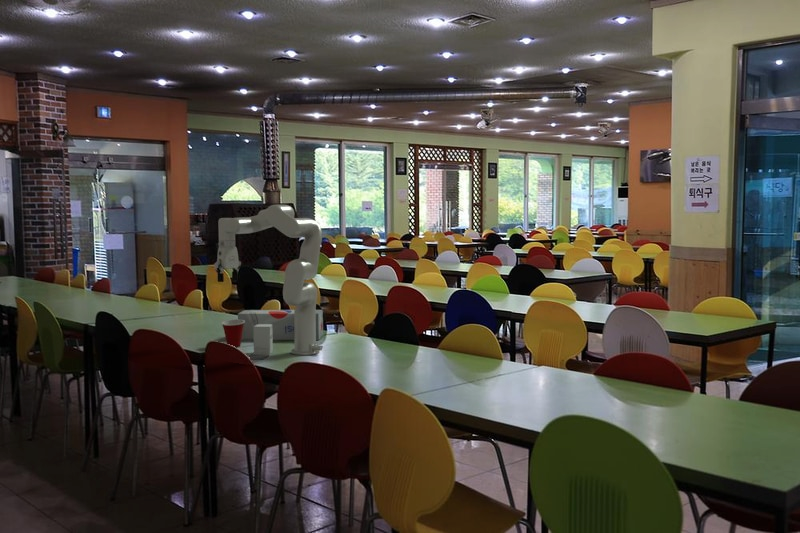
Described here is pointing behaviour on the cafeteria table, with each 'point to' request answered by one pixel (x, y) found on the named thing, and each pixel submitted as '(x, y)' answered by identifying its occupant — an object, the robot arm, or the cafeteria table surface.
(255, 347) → the supplement box
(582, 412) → the cafeteria table surface
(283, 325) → the soda pack
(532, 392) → the cafeteria table surface
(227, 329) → the plastic cup
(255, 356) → the mat
